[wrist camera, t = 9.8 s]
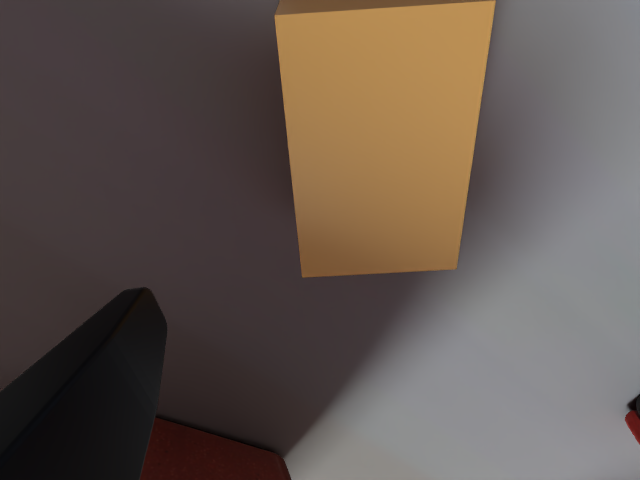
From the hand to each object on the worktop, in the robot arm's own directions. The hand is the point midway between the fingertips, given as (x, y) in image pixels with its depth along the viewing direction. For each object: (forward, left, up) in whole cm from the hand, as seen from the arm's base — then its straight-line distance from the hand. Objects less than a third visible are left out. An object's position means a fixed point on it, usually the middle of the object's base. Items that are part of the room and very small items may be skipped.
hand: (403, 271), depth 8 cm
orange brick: (0, 0, -8) cm, 8 cm away
